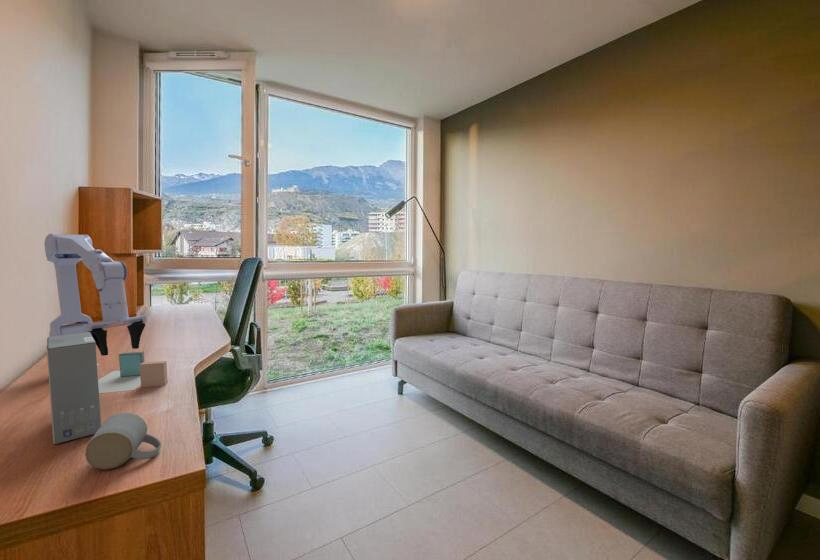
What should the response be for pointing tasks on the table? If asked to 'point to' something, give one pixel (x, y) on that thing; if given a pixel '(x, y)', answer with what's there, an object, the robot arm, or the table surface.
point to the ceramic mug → (120, 441)
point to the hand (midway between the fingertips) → (120, 351)
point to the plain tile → (153, 373)
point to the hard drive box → (73, 386)
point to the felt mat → (118, 382)
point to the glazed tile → (130, 363)
